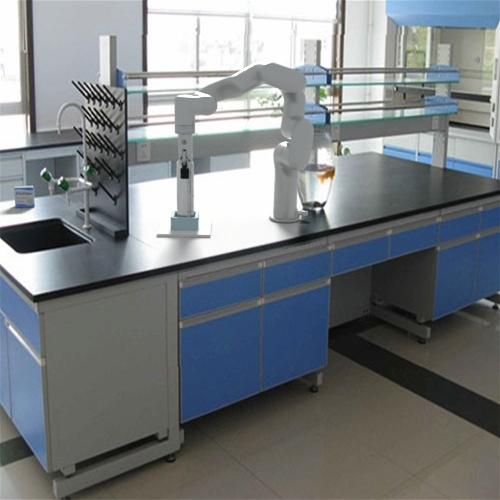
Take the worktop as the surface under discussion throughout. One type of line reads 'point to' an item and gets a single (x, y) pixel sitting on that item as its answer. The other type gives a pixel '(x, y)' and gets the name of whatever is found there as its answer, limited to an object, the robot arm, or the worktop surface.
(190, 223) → the holder
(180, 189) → the white cylinder
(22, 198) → the medicine box
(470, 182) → the worktop surface
